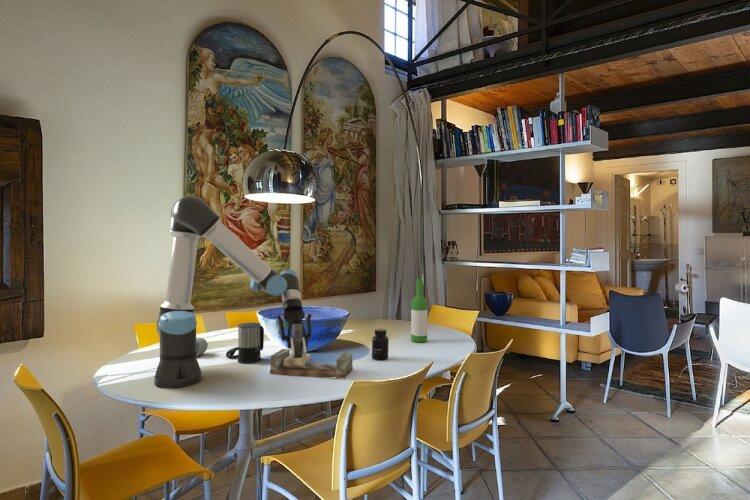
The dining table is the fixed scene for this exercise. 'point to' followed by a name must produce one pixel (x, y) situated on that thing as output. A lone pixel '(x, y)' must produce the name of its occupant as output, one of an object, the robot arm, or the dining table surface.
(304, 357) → the carriage
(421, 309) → the wine bottle
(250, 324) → the milk frother
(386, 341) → the supplement bottle
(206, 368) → the dining table surface
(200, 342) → the ceramic mug
